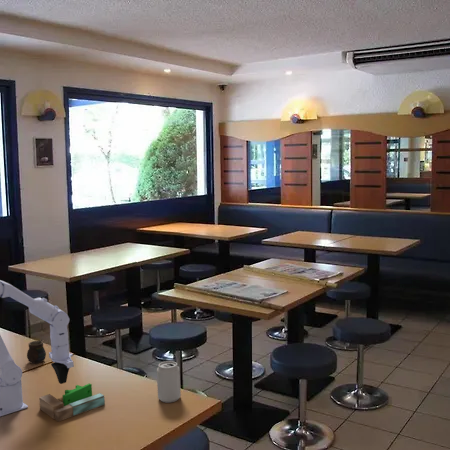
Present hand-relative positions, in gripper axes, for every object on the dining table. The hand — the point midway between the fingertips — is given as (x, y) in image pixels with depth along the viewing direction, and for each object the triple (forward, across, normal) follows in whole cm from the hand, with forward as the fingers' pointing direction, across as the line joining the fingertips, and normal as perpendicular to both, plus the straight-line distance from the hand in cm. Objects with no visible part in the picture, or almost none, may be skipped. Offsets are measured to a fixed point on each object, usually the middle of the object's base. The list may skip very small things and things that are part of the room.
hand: (62, 382), depth 187 cm
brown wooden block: (+4, -11, +9) cm, 15 cm away
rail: (+4, -17, +3) cm, 18 cm away
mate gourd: (+4, +37, -7) cm, 38 cm away
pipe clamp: (+4, -9, 0) cm, 10 cm away
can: (+4, -30, -23) cm, 38 cm away
